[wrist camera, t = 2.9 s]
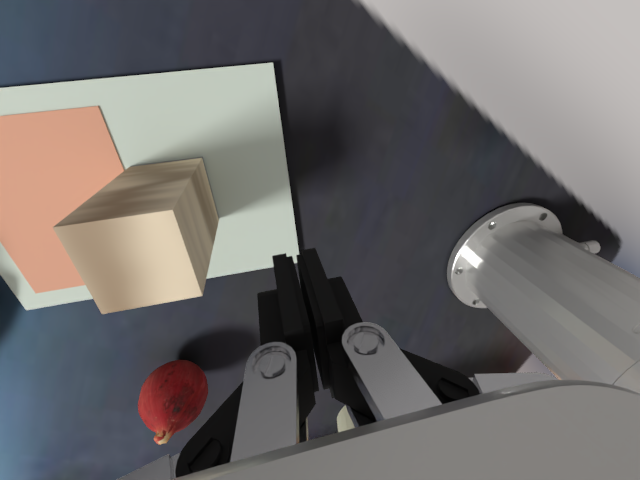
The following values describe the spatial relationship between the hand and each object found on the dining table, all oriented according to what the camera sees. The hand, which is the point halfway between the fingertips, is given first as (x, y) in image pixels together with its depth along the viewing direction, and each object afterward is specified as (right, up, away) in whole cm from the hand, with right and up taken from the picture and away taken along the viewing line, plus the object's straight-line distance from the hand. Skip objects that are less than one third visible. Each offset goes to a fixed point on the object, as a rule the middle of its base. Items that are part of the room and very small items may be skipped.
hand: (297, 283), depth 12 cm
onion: (-13, -11, +20) cm, 27 cm away
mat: (-13, +5, +12) cm, 18 cm away
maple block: (-10, +5, +11) cm, 16 cm away
